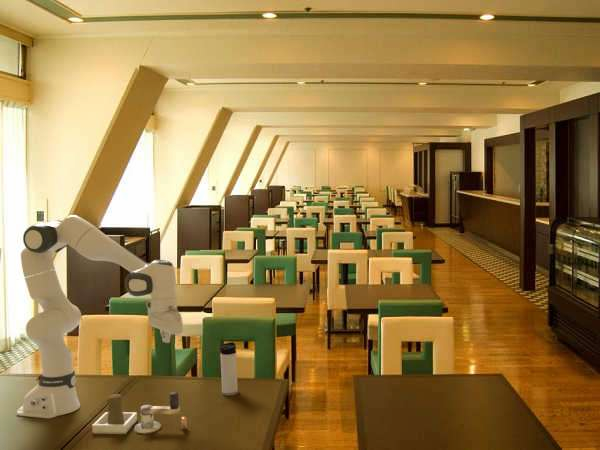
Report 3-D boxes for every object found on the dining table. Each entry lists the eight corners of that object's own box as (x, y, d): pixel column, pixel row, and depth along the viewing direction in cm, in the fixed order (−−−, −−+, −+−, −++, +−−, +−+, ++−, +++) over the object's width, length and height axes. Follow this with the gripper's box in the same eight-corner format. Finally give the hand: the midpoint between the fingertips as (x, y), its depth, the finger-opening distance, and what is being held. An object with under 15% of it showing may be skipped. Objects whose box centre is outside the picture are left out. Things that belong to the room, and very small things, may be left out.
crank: (139, 414, 220) (138, 395, 219) (143, 410, 224) (142, 391, 223) (177, 415, 218) (176, 395, 217) (180, 410, 222) (179, 391, 221)
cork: (119, 429, 220) (118, 398, 219) (103, 428, 221) (102, 397, 220) (128, 422, 226) (126, 392, 225) (112, 421, 227) (110, 391, 226)
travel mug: (241, 391, 256) (239, 342, 254) (232, 396, 250) (230, 347, 248) (227, 389, 259) (225, 341, 257) (219, 394, 253) (216, 345, 251)
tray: (92, 433, 219) (92, 425, 219) (106, 420, 230) (105, 412, 230) (125, 433, 218) (124, 425, 217) (137, 420, 229) (136, 412, 229)
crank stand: (130, 433, 218) (129, 418, 217) (139, 423, 227) (138, 408, 226) (183, 434, 216) (182, 418, 216) (190, 423, 225) (189, 408, 224)
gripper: (186, 307, 225) (188, 345, 226) (159, 299, 240) (161, 335, 242) (170, 310, 221) (172, 349, 222) (144, 302, 236) (146, 338, 238)
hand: (166, 342), depth 232 cm, fingers closed
